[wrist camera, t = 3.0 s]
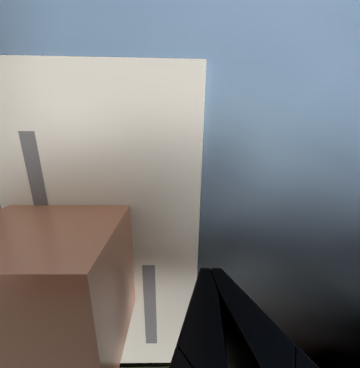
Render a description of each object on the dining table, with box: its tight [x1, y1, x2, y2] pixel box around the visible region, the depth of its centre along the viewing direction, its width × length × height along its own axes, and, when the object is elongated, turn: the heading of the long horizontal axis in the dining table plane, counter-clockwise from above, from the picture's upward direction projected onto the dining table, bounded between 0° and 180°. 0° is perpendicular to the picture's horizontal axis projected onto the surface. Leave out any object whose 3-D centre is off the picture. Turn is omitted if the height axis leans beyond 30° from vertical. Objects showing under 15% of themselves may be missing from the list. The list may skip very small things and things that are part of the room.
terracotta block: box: [0, 205, 136, 368], centre depth 7 cm, size 5×5×4 cm
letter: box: [0, 55, 206, 363], centre depth 9 cm, size 15×11×1 cm
